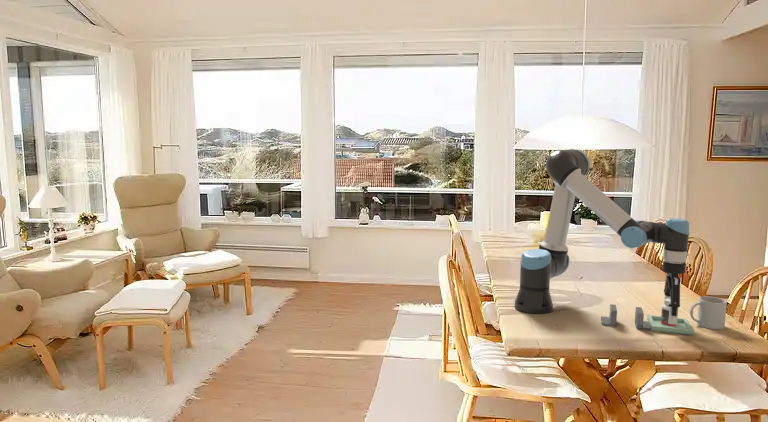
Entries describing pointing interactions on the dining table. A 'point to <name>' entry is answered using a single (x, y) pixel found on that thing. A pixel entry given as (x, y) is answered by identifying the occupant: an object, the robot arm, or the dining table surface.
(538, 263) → the robot arm
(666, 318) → the pill bottle
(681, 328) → the tray
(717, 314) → the mug
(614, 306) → the bookends
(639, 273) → the dining table surface
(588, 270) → the dining table surface
